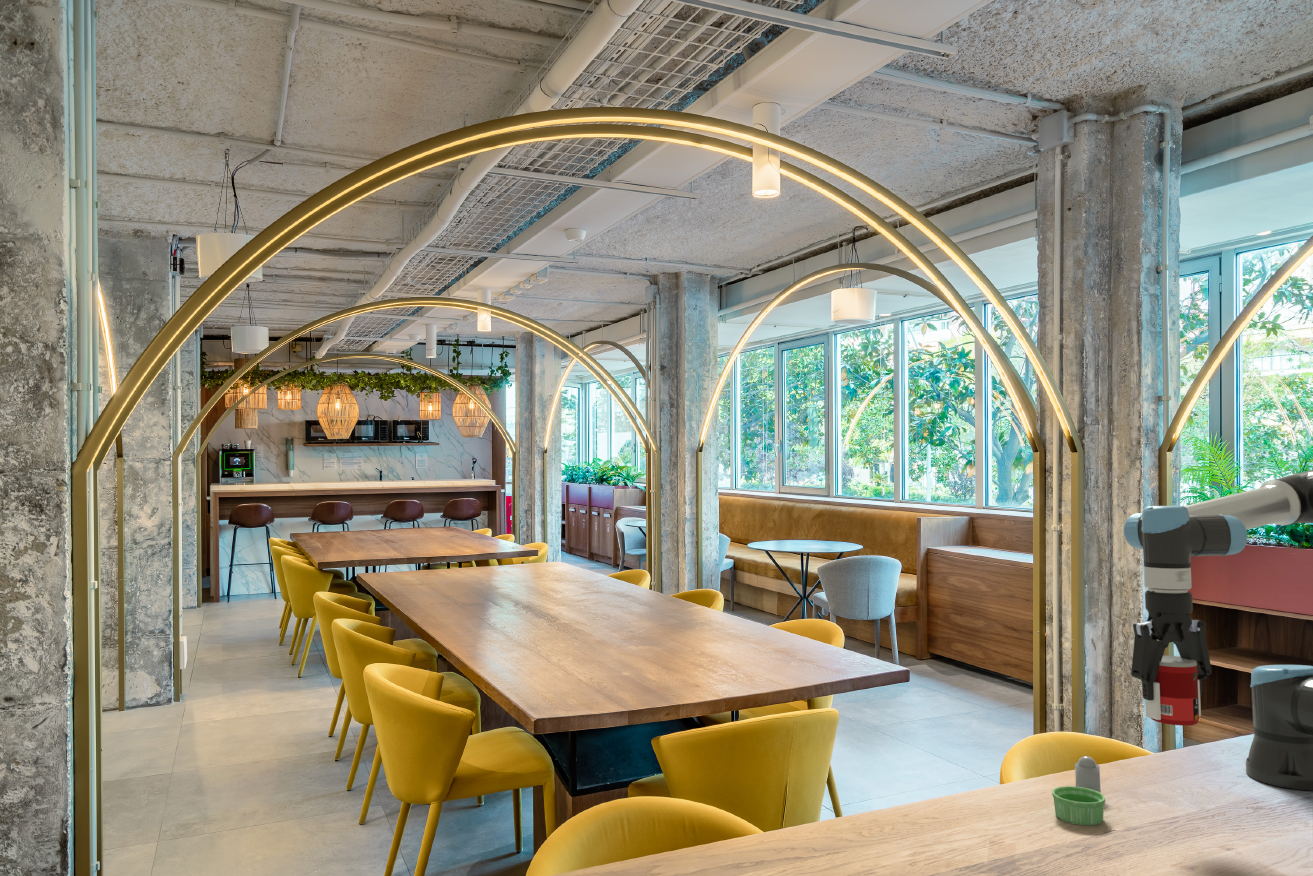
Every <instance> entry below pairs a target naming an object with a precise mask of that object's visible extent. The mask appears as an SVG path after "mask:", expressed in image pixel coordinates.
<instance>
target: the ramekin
mask: <svg viewBox="0 0 1313 876" xmlns="http://www.w3.org/2000/svg"><path fill="white" fill-rule="evenodd" d="M1051 795H1052V797H1053V804H1054V812H1055V813H1054V814H1055V815H1056V817H1057V818H1059V819H1060V820H1061V819H1062V820H1061V821H1063V822H1065V821H1066V823H1068V822H1069V823H1068V824H1072V823H1073V824H1072V825H1076V824H1078V825H1077V826H1085V825H1091V826H1096V825H1100V824H1101V823H1102V822H1104V821H1103V820H1104V811H1105V802H1106V797H1105V794H1102V793H1100V792H1097V791H1095V790H1092V789H1088V788H1082V787H1076V786H1071V785H1069V786H1068V785H1063V786H1059V787H1058V786H1057V787H1055V788H1052V790H1051Z"/></svg>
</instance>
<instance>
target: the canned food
mask: <svg viewBox="0 0 1313 876" xmlns="http://www.w3.org/2000/svg"><path fill="white" fill-rule="evenodd" d="M1148 675H1149V673H1148ZM1155 682H1157V683H1159V685H1160V709H1161V720H1156V719H1153V718H1150V719H1151V720H1152V721H1154V722H1157V723H1159V724H1166V725H1171V726H1180V727H1181V726H1184V727H1185V726H1187V727H1188V726H1195V725H1197V724H1198V723H1199V720H1200V716H1199V701H1198V676H1197V663H1196V661H1195V660H1188V659H1184V658H1181V657H1180V656H1179V655H1178V656H1176V655H1164V654H1163V657H1162V660H1161V662H1160V664H1159V670H1158V673H1157V676H1156V680H1155Z"/></svg>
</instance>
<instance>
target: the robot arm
mask: <svg viewBox="0 0 1313 876" xmlns="http://www.w3.org/2000/svg"><path fill="white" fill-rule="evenodd" d="M1270 524H1275V525H1278V526H1287V525H1288V526H1289V525H1293V524H1313V469H1310V470H1306V471H1303V472H1298V473H1294V474H1290V475H1287V476H1283V477H1280V478H1277V479H1272V480H1268V481H1265V482H1264V483H1262V484H1261V486H1260V487H1259V488H1256V489H1251V490H1247V491H1243V492H1242V491H1241V492H1238V493H1234V494H1229V495H1226V496H1222V497H1217V498H1213V499H1209V500H1204V501H1200V502H1197V503H1192V504H1187V505H1149V506H1146V507H1145V508H1143V510H1142V512H1138V513H1137V512H1135V513H1133V514H1131V515H1130V516H1128V518H1127V519H1126V520H1125V522H1124V525H1123V535H1124V538H1125V540H1126V543H1127V544H1128V545H1129V546H1130V547H1133V548H1135V549H1137V550H1143V551H1142V554H1143V579H1144V581H1143V584H1144V588H1146V589H1147V590H1146V591H1145V592H1144V602H1145V604H1144V605H1145V607H1144V608H1145V610H1146V611H1147V613H1148V617H1147V619H1146V621H1144V622H1141V623H1140V622H1134V623H1133V624H1132V628H1133V633H1134V640H1133V641H1134V642H1133V648H1132V649H1133V650H1132V651H1133V652H1132V661H1131V662H1132V663H1131V669H1130V670H1131V672H1130V675H1131V677H1132V678H1136V679H1138V680H1140V681H1141V691H1142V693H1141V694H1142V695H1141V696H1142V698H1143V700H1145V701H1144V703H1145V717H1147V718H1150V719H1151V718H1153V719H1156V720H1161V709H1160V685H1159V683H1157V682H1155V680H1156V676H1157V673H1158V670H1159V664H1160V662H1161V660H1162V657H1163V655H1164V653H1165V651H1166V649H1167V648H1168V647H1169V645H1170V644H1171V643H1173V644H1174V645H1175V646H1176V649H1177V651H1178V654H1179V657H1181V658H1184V659H1188V660H1195V661H1196V663H1197V676H1198V701H1199V717H1202V710H1201V709H1202V708H1201V697H1202V696H1203V681H1206V680H1208V676H1210V675H1212V673H1213V672H1212V664H1211V660H1210V654H1209V648H1208V644H1207V638H1206V627H1207V623H1206V622H1205V621H1204V620H1199V619H1193V618H1192V617H1191V616H1190V615H1191V613H1192V612H1193V610H1194V607H1193V606H1194V605H1193V594H1192V593H1191V591H1190V590H1191V589H1192V588H1193V587H1192V568H1191V567H1192V564H1191V563H1192V561H1191V558H1192V557H1193V558H1194V557H1208V556H1209V557H1213V556H1215V557H1216V556H1217V557H1218V556H1221V557H1225V556H1231V555H1236V554H1239V553H1240V552H1242V551H1243V550H1244V549H1245V547H1246V545H1247V543H1248V531H1247V530H1251V529H1255V528H1259V527H1263V526H1267V525H1270ZM1148 673H1149V675H1148ZM1250 674H1251V679H1250V685H1249V686H1250V694H1251V708H1252V721H1253V722H1252V723H1253V724H1252V725H1253V739H1252V742H1251V745H1250V748H1249V751H1248V752H1249V753H1248V757H1246V759H1245V773H1246V774H1247V776H1249V777H1250V778H1252V779H1253V780H1256V781H1258V780H1259V782H1261V781H1262V782H1261V783H1265V784H1267V783H1268V785H1271V786H1275V787H1281V788H1285V787H1286V788H1285V789H1291V788H1292V790H1300V791H1313V665H1306V664H1305V665H1303V664H1269V665H1259V666H1256V667H1254V668H1253V669H1252V670H1251V673H1250Z"/></svg>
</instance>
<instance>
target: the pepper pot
mask: <svg viewBox="0 0 1313 876" xmlns="http://www.w3.org/2000/svg"><path fill="white" fill-rule="evenodd" d="M1100 770H1101V769H1100V765H1098V764H1097V763H1096V761H1095V760H1094V758H1093V757H1091V756H1088V755H1084V756H1081V757H1080V758H1079V759H1078V761H1077V762H1075V763H1074V772H1075V773H1074V774H1075V775H1074V776H1075V787H1082V788H1088V789H1092V790H1095V791H1097V792H1100V793H1101V791H1102V790H1101V771H1100ZM1101 794H1102V793H1101Z"/></svg>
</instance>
